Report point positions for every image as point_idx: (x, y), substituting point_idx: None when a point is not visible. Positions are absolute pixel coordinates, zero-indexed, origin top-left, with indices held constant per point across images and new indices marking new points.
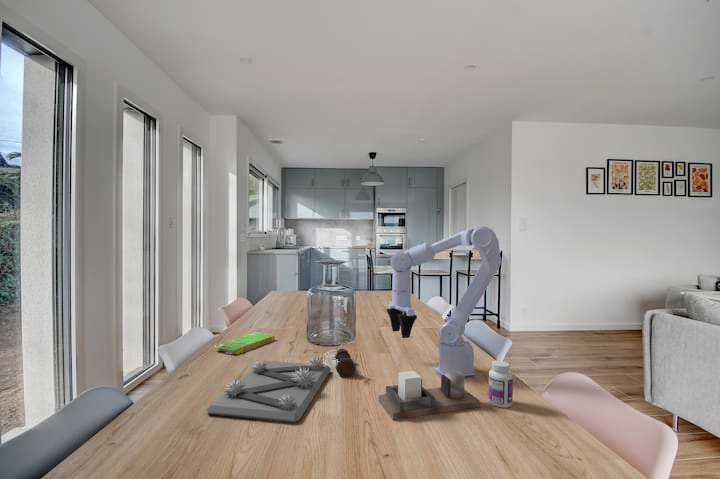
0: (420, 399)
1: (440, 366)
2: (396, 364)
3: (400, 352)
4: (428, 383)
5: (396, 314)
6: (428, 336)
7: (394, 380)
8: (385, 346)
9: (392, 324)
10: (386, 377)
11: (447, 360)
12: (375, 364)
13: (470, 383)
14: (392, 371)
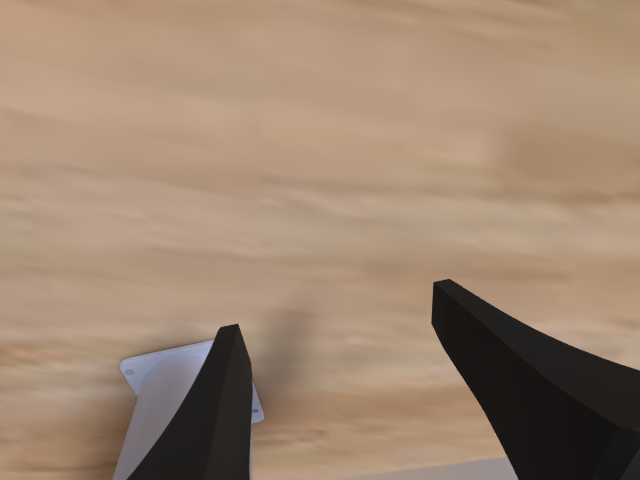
0: None
1: (178, 372)
2: (308, 194)
3: (468, 245)
4: (54, 287)
5: (536, 445)
6: None
7: (59, 133)
8: (578, 190)
9: (471, 317)
10: (101, 94)
11: (133, 425)
12: (323, 69)
13: (89, 414)
14: (204, 151)
